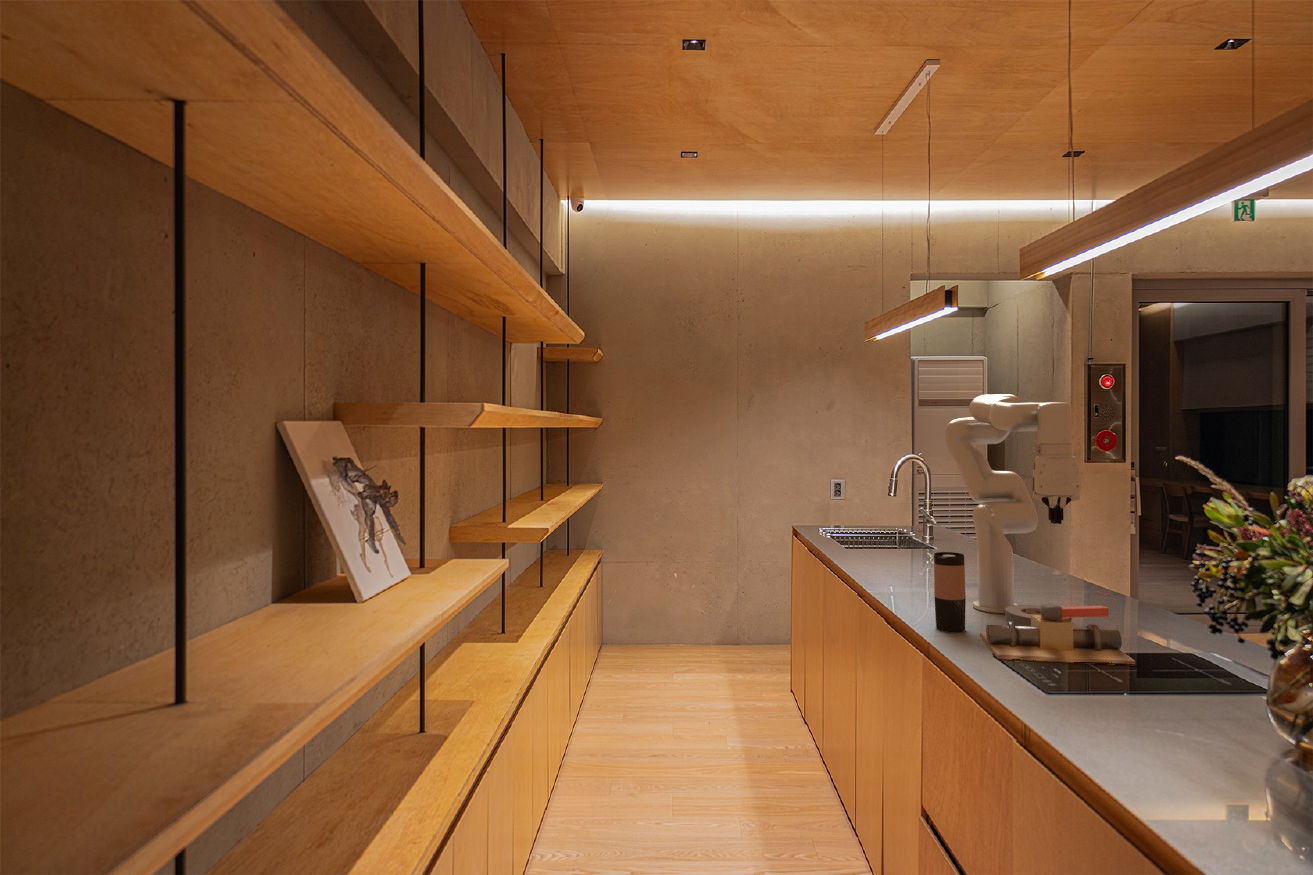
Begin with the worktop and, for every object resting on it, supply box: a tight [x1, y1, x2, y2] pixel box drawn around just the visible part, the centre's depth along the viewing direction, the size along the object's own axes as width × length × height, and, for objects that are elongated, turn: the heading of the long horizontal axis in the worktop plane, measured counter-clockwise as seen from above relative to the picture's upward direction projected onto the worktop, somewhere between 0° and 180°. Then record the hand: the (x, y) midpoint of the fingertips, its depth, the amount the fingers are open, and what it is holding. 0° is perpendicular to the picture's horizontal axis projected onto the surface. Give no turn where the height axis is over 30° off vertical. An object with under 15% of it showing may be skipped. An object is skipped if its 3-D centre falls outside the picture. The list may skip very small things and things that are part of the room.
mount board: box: [979, 632, 1136, 665], centre depth 165 cm, size 28×18×1 cm, turn 77°
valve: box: [985, 614, 1123, 651], centre depth 165 cm, size 28×7×8 cm, turn 77°
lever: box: [1040, 603, 1110, 620], centre depth 165 cm, size 15×4×3 cm, turn 91°
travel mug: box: [933, 551, 967, 634], centre depth 184 cm, size 8×8×20 cm
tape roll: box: [1004, 604, 1073, 626], centre depth 182 cm, size 15×15×5 cm
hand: (1055, 523), depth 175 cm, fingers closed
